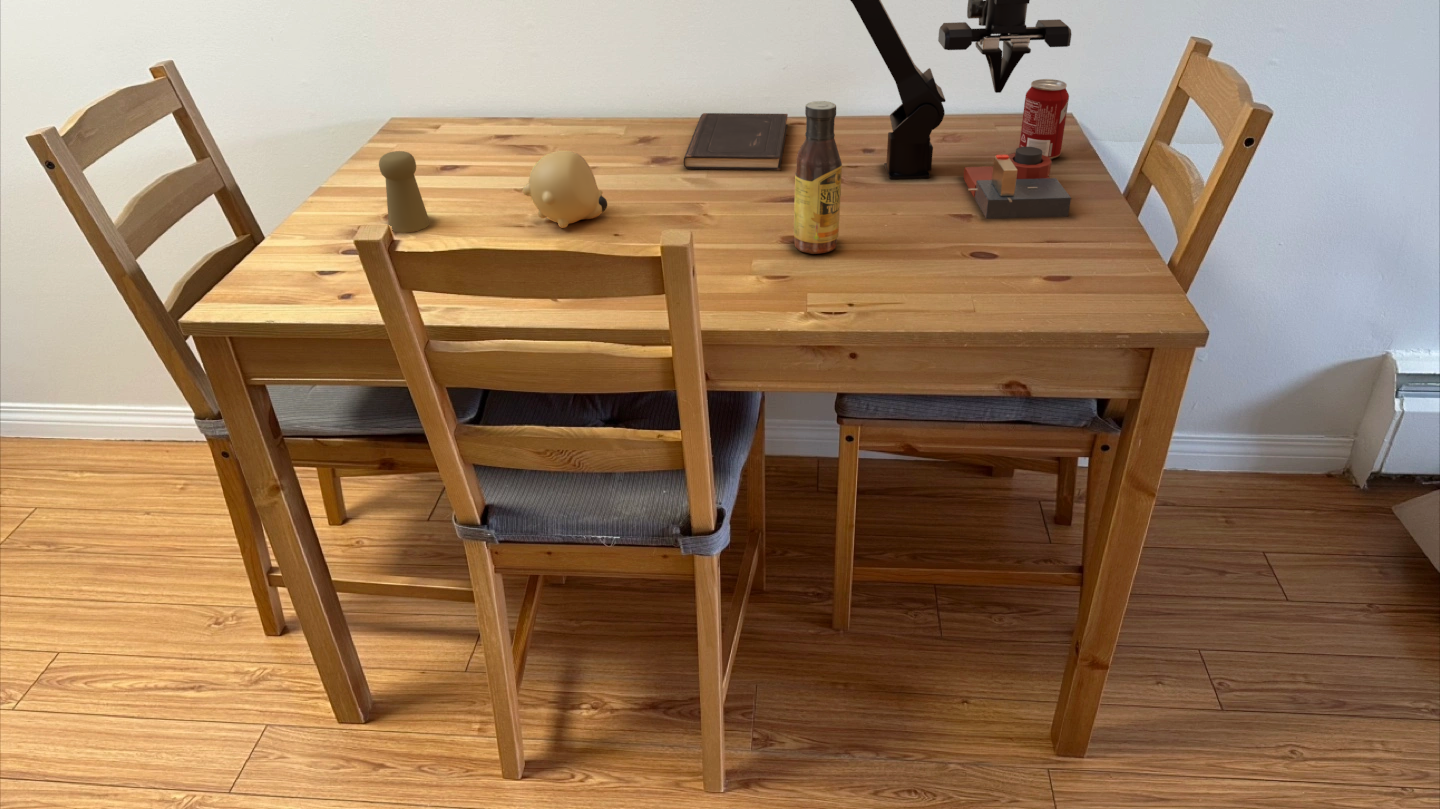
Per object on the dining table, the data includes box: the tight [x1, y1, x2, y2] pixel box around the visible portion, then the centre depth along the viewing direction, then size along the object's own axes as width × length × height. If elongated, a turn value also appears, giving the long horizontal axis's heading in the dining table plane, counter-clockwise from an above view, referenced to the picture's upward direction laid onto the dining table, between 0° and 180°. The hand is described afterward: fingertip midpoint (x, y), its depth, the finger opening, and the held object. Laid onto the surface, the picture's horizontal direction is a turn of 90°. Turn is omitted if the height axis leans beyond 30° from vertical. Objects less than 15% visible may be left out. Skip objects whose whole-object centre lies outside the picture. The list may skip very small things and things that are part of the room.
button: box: [1014, 147, 1042, 165], centre depth 164 cm, size 4×4×2 cm
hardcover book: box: [682, 112, 789, 171], centre depth 184 cm, size 16×23×2 cm
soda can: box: [1018, 78, 1070, 161], centre depth 173 cm, size 7×7×12 cm
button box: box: [962, 152, 1053, 198], centre depth 164 cm, size 12×8×4 cm
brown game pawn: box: [378, 150, 431, 234], centre depth 156 cm, size 6×6×11 cm
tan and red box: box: [992, 154, 1017, 196], centre depth 155 cm, size 6×2×4 cm, turn 0°
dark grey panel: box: [967, 177, 1072, 220], centre depth 157 cm, size 14×10×3 cm
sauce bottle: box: [793, 100, 843, 255], centre depth 143 cm, size 7×6×20 cm
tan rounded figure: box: [522, 149, 608, 229], centre depth 156 cm, size 10×12×11 cm
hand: (997, 92), depth 164 cm, fingers closed
